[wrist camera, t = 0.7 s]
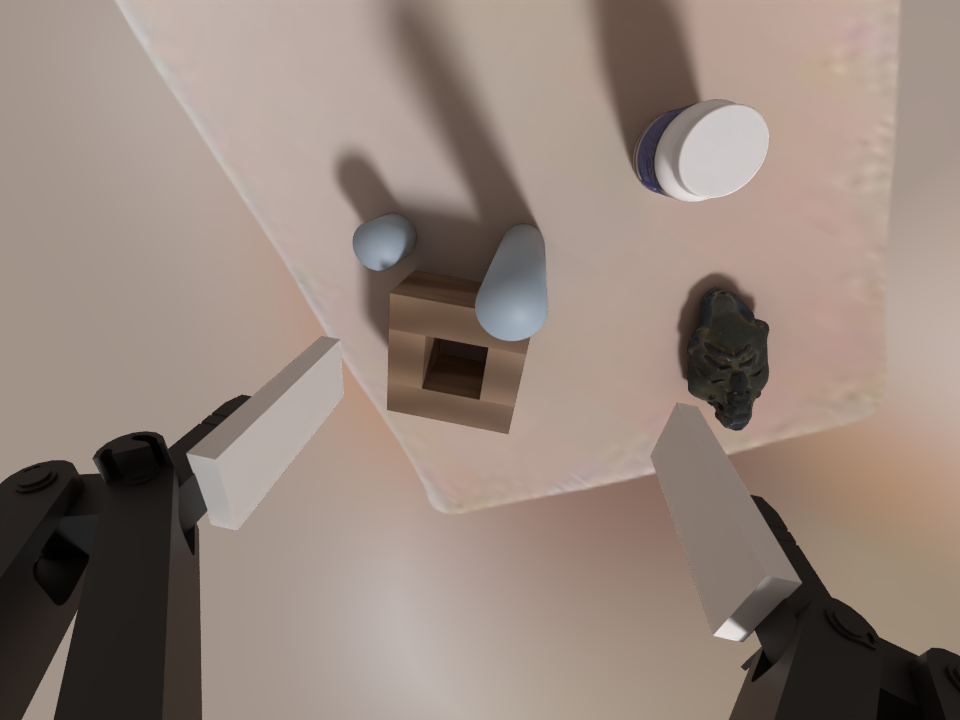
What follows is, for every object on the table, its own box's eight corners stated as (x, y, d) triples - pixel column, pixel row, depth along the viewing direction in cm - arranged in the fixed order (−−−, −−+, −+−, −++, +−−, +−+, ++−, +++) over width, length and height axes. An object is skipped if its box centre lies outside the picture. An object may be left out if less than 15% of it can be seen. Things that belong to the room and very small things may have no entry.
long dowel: (504, 220, 34) (480, 266, 20) (549, 228, 34) (555, 279, 20) (497, 264, 36) (470, 334, 22) (539, 272, 36) (539, 346, 22)
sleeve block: (414, 270, 37) (389, 293, 31) (535, 292, 37) (534, 319, 31) (408, 373, 43) (386, 409, 37) (512, 394, 43) (508, 434, 36)
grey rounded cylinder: (375, 210, 35) (352, 217, 31) (417, 217, 35) (399, 225, 31) (375, 253, 37) (353, 266, 33) (414, 260, 37) (398, 274, 33)
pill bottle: (635, 201, 32) (671, 219, 23) (627, 125, 29) (663, 113, 21) (711, 180, 30) (779, 190, 22) (708, 98, 28) (784, 72, 19)
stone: (759, 275, 34) (795, 293, 29) (758, 399, 39) (788, 431, 34) (676, 293, 35) (697, 313, 31) (686, 410, 41) (704, 442, 36)
